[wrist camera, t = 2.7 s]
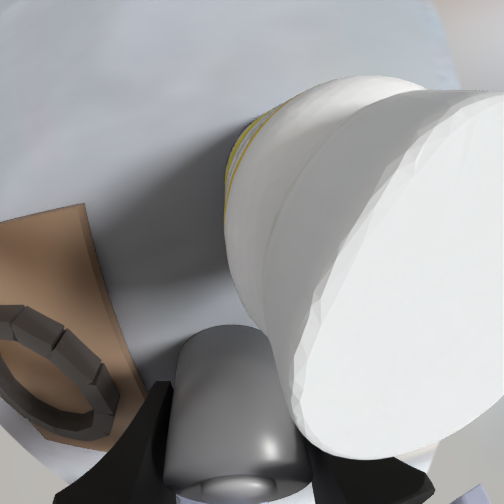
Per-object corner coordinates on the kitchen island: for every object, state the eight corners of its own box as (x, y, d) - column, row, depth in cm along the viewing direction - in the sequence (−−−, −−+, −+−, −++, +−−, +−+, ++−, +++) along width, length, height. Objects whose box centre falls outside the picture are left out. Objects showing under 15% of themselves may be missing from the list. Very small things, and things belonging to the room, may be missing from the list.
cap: (284, 392, 14) (309, 505, 8) (190, 401, 13) (184, 514, 8) (283, 318, 12) (324, 458, 6) (166, 329, 12) (138, 469, 6)
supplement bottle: (360, 236, 11) (519, 402, 3) (234, 251, 10) (256, 504, 3) (357, 106, 9) (599, 112, 1) (217, 111, 9) (161, -16, 1)
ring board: (178, 450, 15) (176, 475, 14) (47, 433, 15) (40, 452, 13) (84, 202, 9) (57, 219, 7) (-59, 239, 9) (-81, 254, 7)
